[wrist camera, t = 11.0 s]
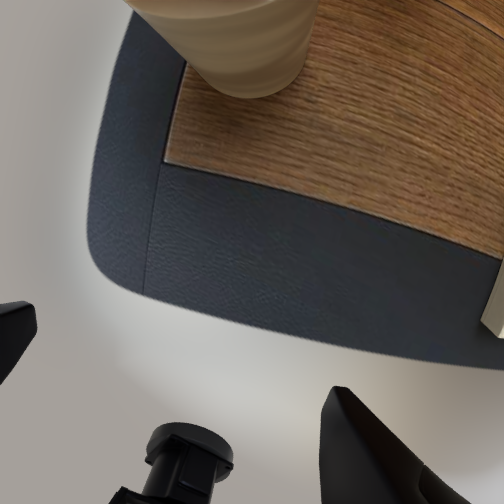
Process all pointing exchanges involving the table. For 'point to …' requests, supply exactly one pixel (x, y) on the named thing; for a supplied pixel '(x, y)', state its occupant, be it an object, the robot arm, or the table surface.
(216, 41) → the pedestal
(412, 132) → the table surface
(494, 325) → the beige tray
